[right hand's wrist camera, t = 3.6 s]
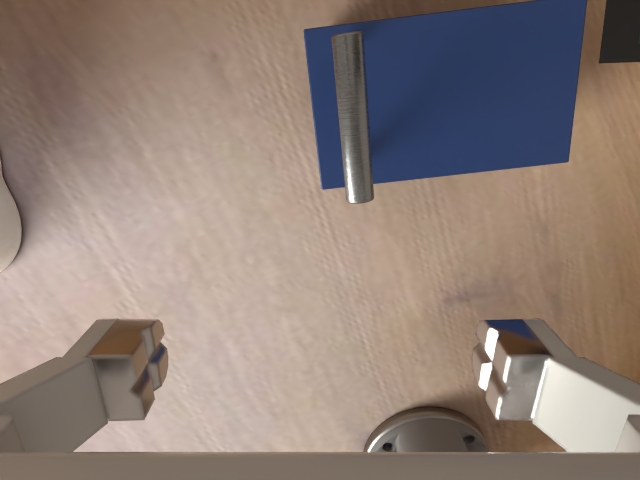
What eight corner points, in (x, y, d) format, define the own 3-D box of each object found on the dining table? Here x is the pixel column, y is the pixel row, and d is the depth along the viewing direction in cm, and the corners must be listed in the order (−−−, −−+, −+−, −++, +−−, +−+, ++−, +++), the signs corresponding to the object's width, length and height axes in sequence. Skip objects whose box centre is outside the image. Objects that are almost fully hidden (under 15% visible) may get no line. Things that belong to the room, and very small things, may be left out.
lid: (321, 186, 29) (323, 226, 21) (303, 30, 25) (298, 12, 18) (562, 160, 28) (651, 191, 21) (580, -4, 25) (696, -39, 17)
